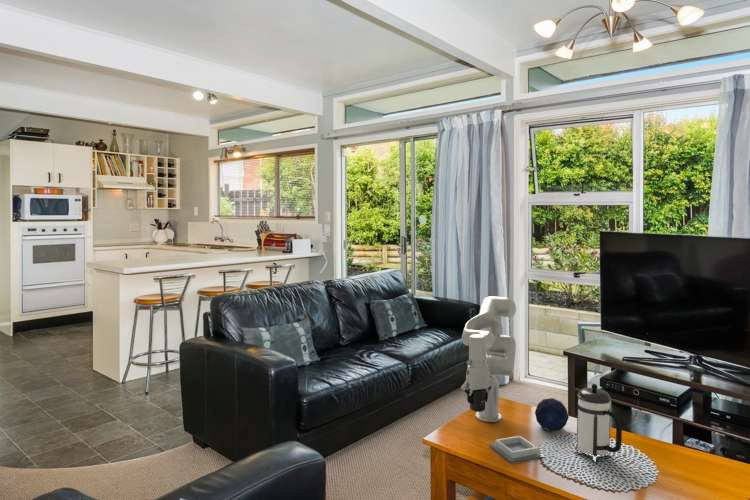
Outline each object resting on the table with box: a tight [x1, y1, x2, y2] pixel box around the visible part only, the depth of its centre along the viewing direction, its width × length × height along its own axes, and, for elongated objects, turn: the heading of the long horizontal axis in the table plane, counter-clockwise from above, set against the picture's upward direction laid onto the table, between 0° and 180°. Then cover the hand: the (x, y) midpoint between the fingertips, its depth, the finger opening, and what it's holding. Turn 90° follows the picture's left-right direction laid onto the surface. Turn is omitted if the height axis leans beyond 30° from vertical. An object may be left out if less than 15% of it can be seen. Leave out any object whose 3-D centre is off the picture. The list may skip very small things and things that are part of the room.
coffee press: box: [575, 383, 623, 456], centre depth 206 cm, size 17×16×30 cm
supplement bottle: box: [469, 389, 486, 413], centre depth 221 cm, size 7×7×12 cm
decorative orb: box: [534, 397, 570, 432], centre depth 233 cm, size 14×15×15 cm
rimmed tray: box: [488, 435, 541, 465], centre depth 210 cm, size 16×16×4 cm
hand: (477, 401), depth 221 cm, fingers closed on supplement bottle, 6 cm apart
